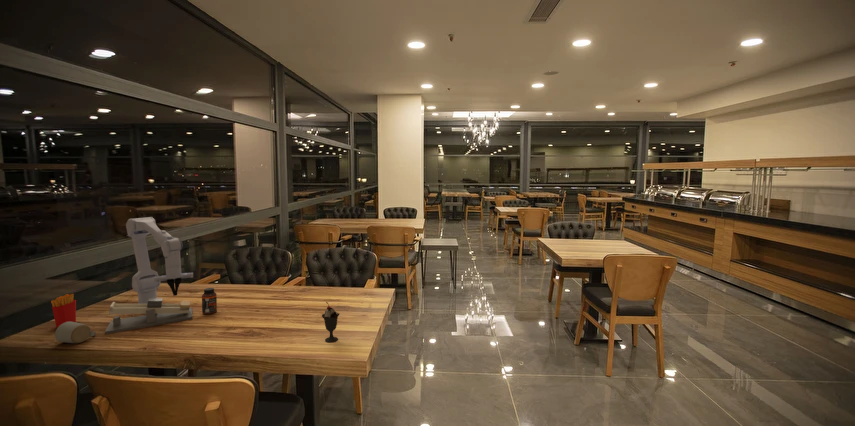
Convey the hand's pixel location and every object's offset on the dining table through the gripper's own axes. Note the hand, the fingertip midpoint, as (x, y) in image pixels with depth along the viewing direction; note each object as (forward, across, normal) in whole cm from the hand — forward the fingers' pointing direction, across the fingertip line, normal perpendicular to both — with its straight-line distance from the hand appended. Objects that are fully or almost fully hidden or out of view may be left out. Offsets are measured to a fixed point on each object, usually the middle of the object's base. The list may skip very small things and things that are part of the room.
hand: (175, 295), depth 168 cm
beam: (+6, -9, 0) cm, 11 cm away
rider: (+5, -8, 0) cm, 9 cm away
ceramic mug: (+10, -32, -9) cm, 34 cm away
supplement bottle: (+10, +13, -2) cm, 17 cm away
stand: (+10, -9, 0) cm, 14 cm away
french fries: (+10, -40, +14) cm, 44 cm away
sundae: (+10, +52, -61) cm, 81 cm away
